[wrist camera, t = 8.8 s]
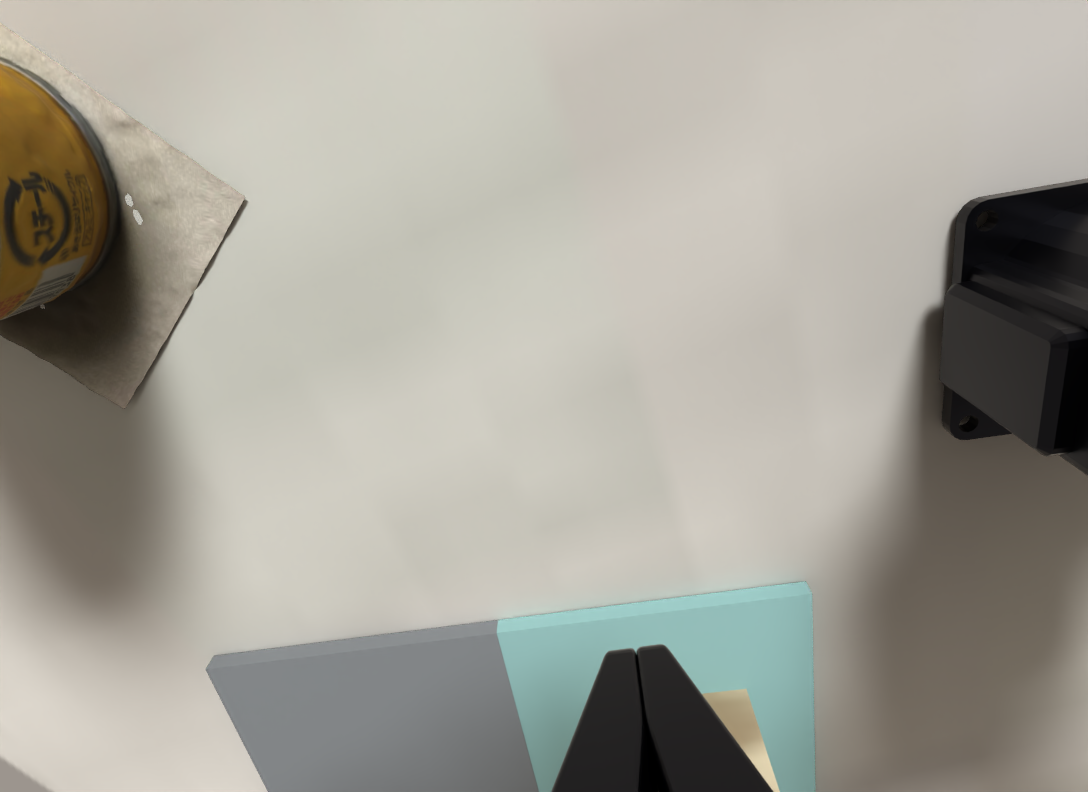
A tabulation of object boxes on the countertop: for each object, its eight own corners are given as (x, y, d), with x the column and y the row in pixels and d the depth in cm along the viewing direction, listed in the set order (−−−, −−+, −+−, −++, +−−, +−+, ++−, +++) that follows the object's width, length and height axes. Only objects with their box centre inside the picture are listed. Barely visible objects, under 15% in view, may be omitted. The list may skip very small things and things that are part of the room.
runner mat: (805, 581, 21) (812, 594, 20) (810, 824, 26) (816, 840, 25) (213, 655, 23) (205, 669, 22) (321, 870, 27) (316, 886, 27)
